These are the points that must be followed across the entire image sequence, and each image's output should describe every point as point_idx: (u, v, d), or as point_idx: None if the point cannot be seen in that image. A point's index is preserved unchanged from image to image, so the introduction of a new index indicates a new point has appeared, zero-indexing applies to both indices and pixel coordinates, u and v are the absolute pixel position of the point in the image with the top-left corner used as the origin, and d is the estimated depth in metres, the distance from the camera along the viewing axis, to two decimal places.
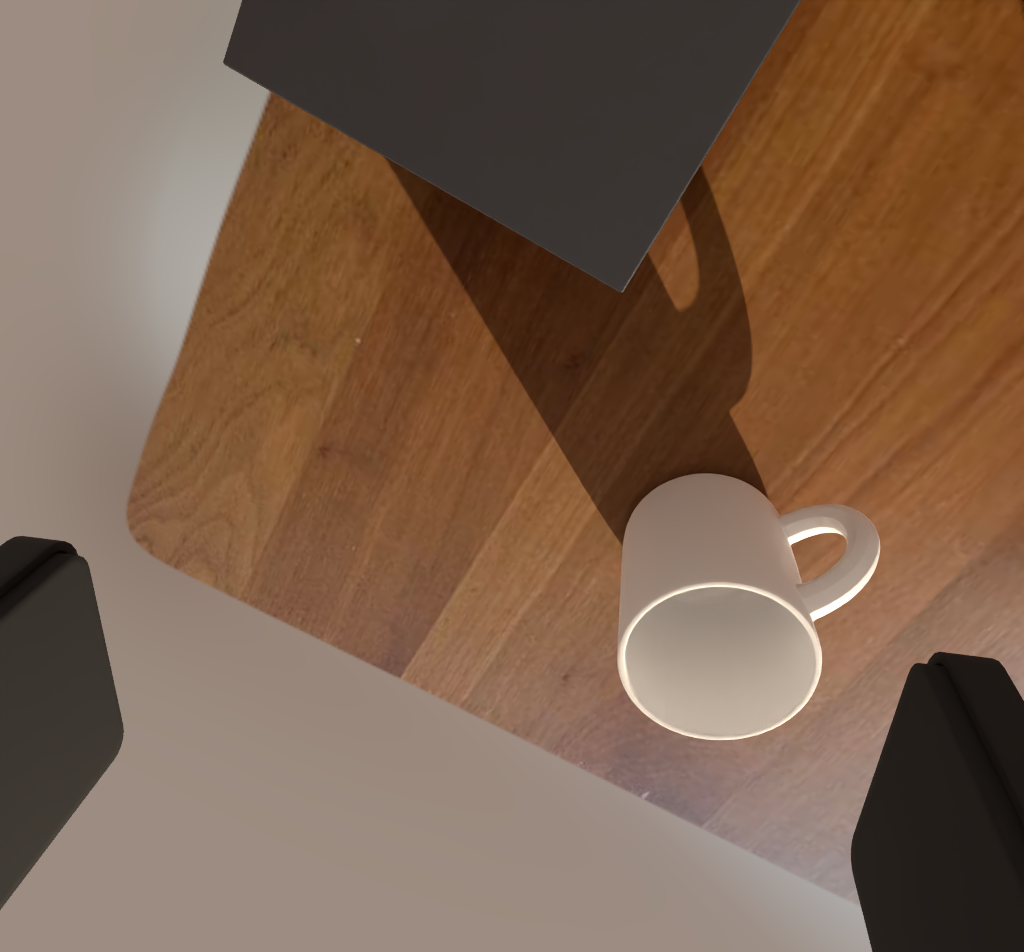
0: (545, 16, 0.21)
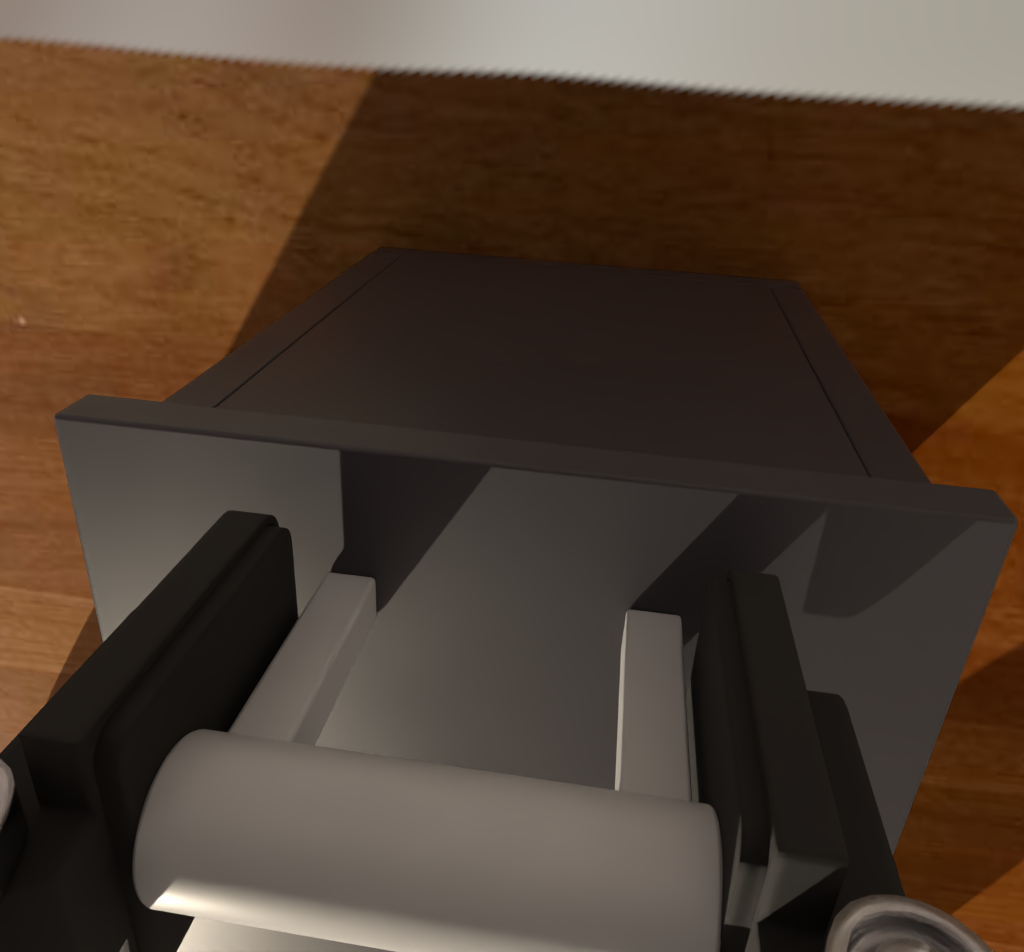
0: None
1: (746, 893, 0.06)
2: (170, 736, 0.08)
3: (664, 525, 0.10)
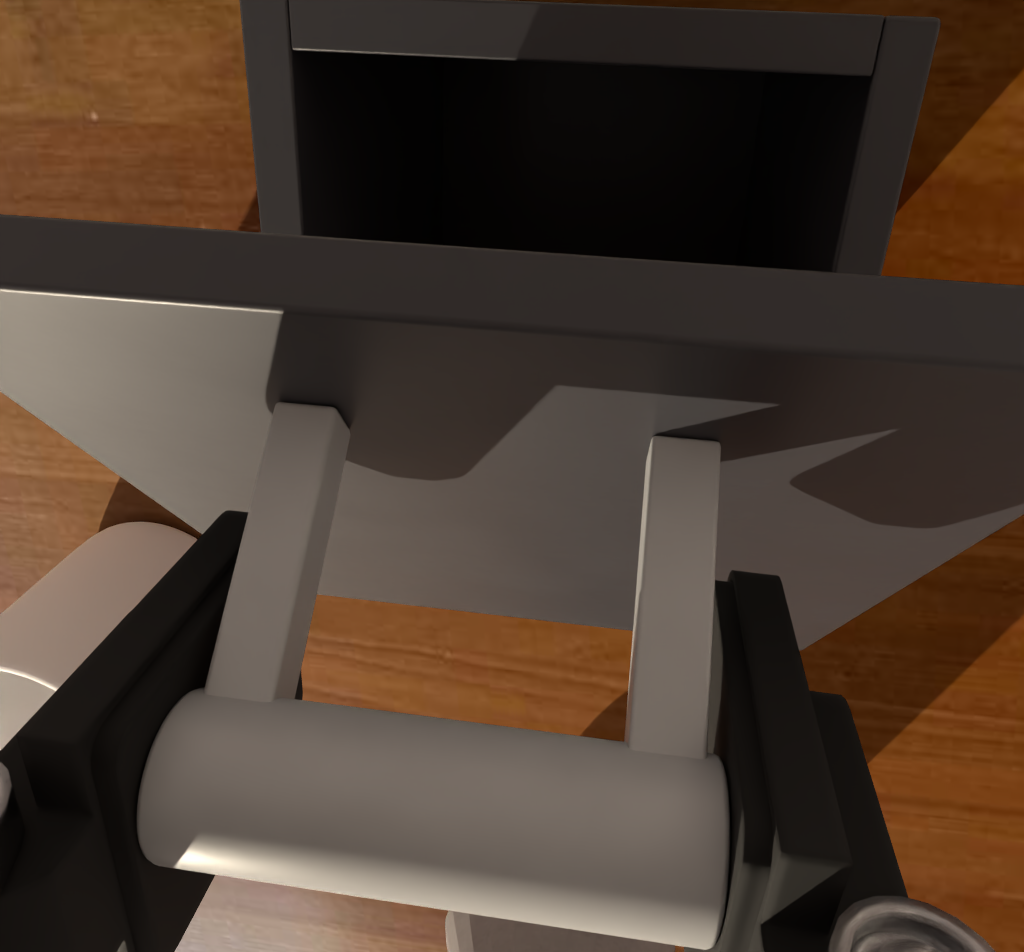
0: (470, 551, 0.14)
1: (749, 894, 0.06)
2: None
3: (701, 378, 0.07)
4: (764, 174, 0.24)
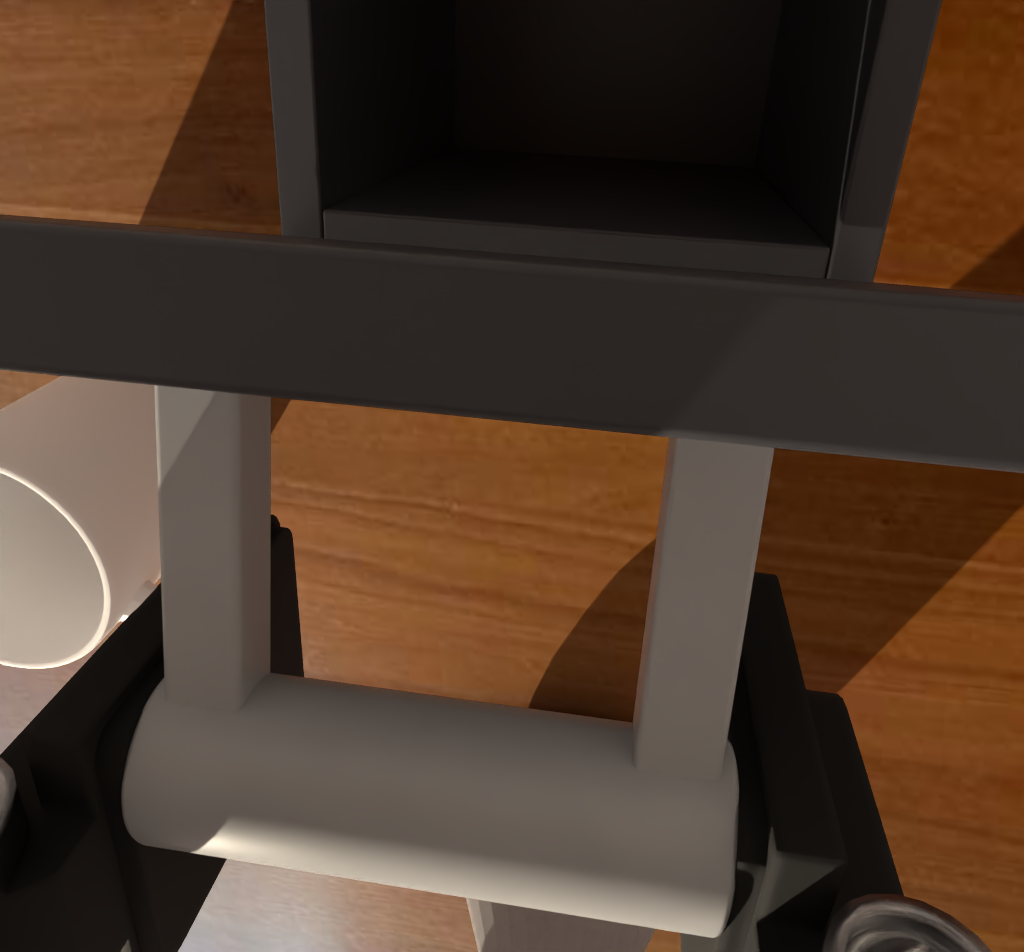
0: None
1: (745, 892, 0.06)
2: None
3: None
4: None
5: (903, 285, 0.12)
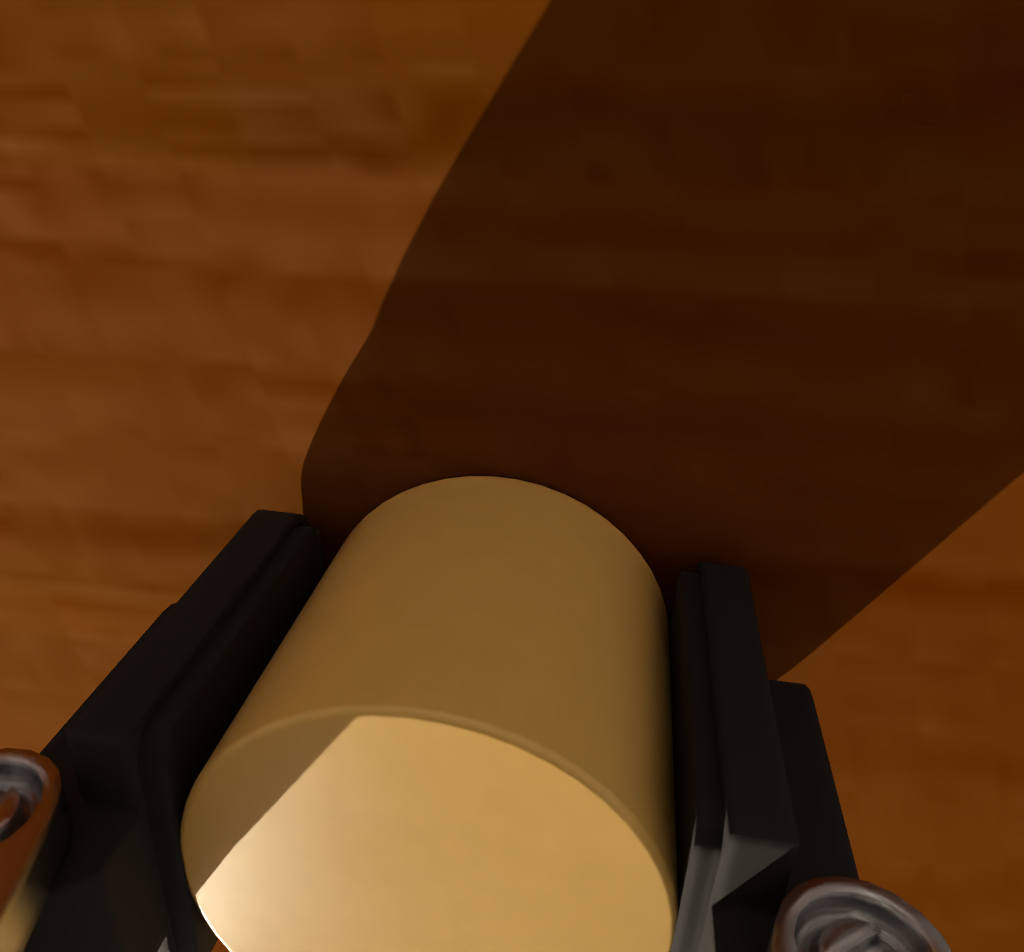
0: None
1: (702, 876, 0.07)
2: (209, 734, 0.08)
3: None
4: None
5: None
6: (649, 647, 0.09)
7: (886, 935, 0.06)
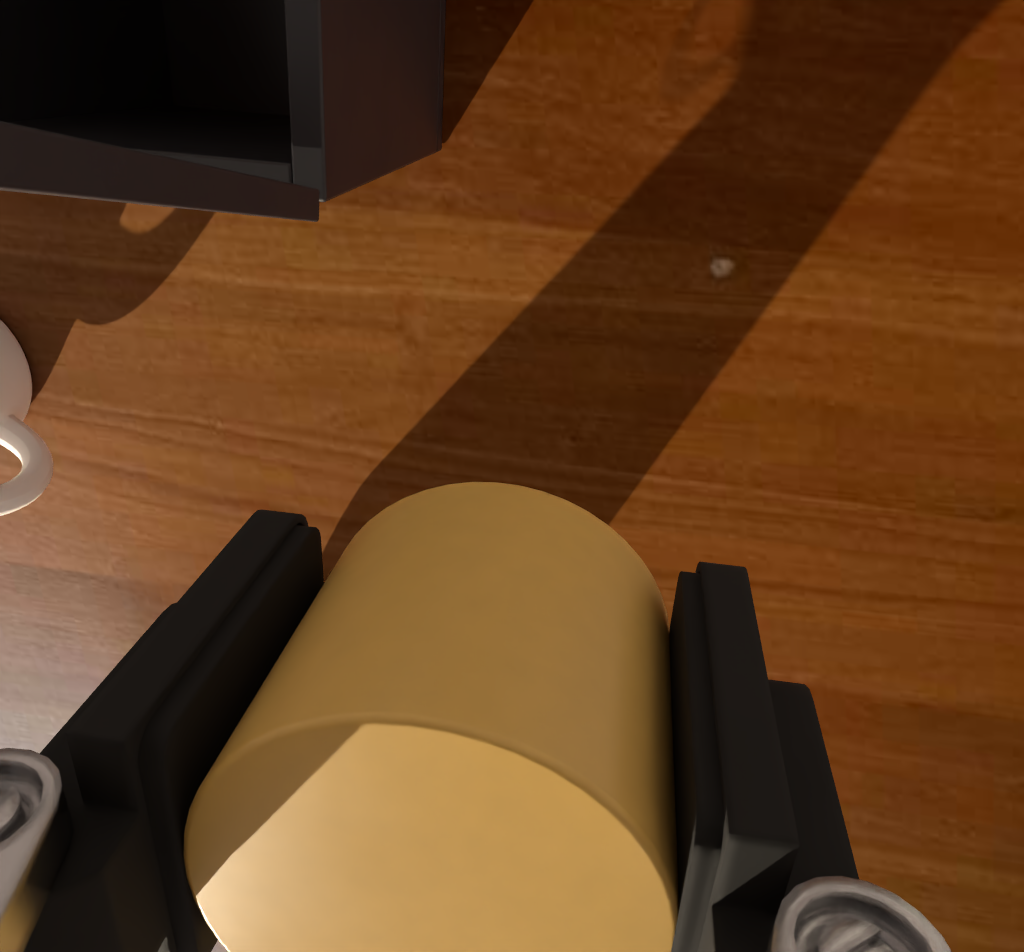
0: None
1: (701, 877, 0.07)
2: (210, 734, 0.08)
3: None
4: None
5: None
6: (650, 653, 0.09)
7: (886, 935, 0.06)
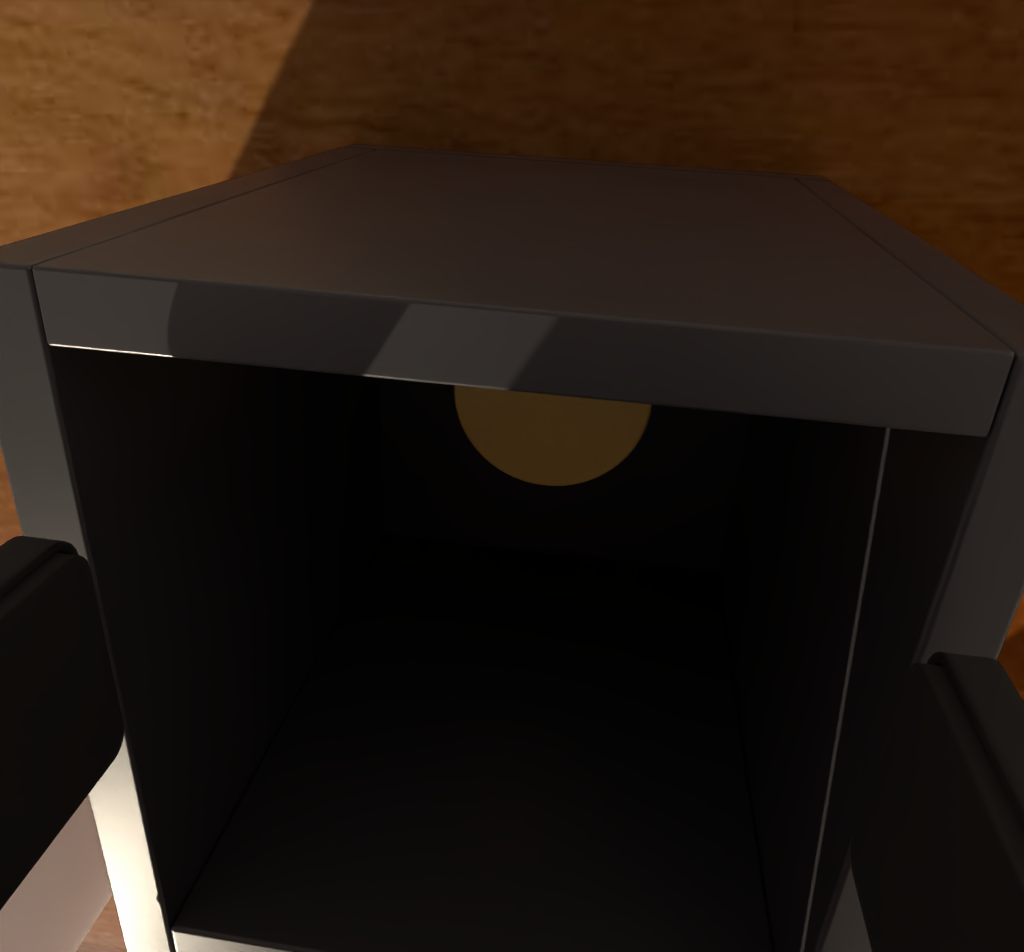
0: None
1: None
2: None
3: None
4: None
5: None
6: None
7: None
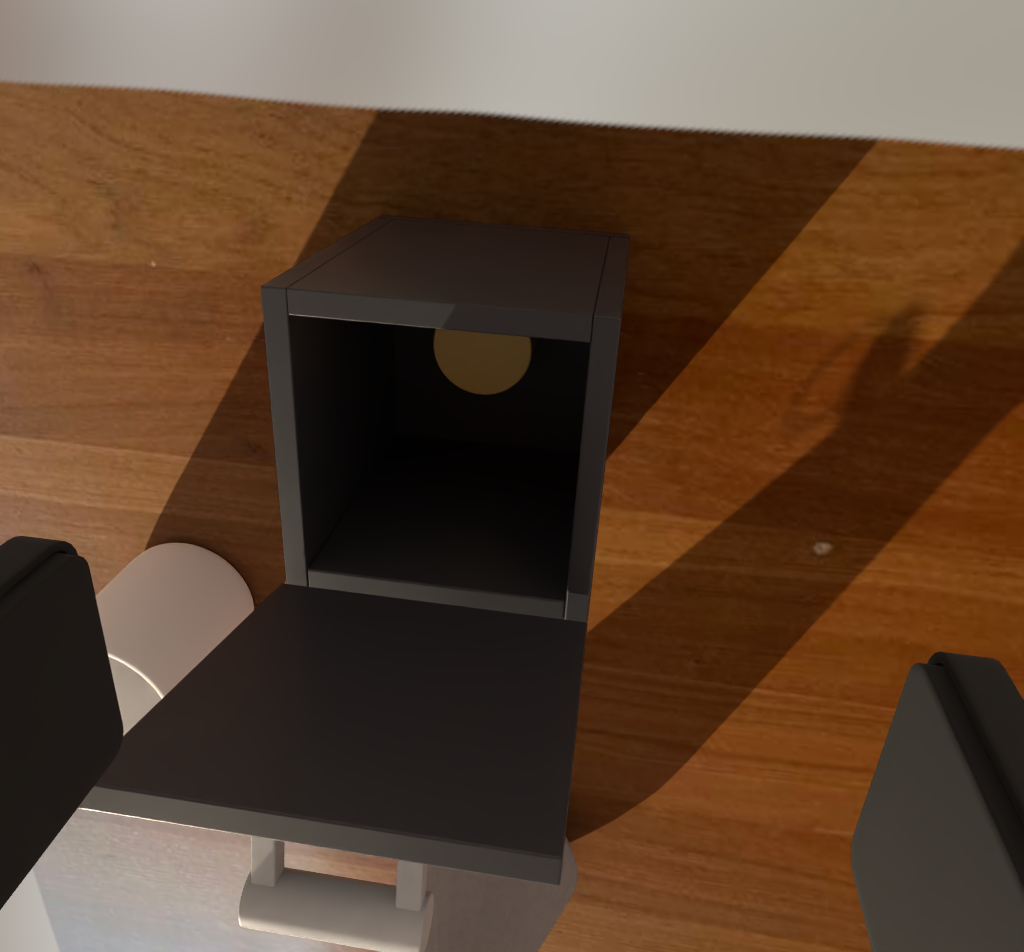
0: None
1: None
2: None
3: None
4: None
5: (559, 667, 0.27)
6: None
7: None
